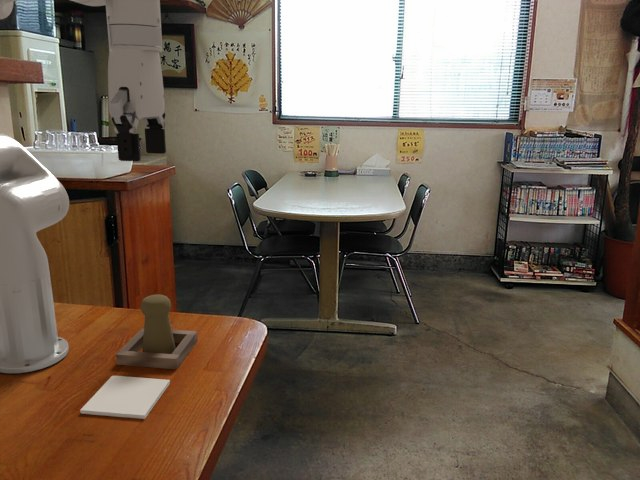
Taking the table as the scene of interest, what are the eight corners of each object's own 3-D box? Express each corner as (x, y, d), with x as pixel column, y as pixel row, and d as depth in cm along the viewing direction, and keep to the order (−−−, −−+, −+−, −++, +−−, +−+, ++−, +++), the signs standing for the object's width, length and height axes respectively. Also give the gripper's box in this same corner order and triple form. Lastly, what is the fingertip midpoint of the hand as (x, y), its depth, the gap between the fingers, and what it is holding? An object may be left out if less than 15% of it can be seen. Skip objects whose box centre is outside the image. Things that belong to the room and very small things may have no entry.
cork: (166, 361, 94) (162, 305, 91) (135, 358, 96) (131, 301, 93) (181, 346, 100) (178, 292, 97) (152, 343, 101) (148, 289, 98)
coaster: (80, 413, 79) (80, 410, 79) (112, 378, 89) (112, 375, 89) (144, 418, 78) (144, 415, 78) (170, 383, 88) (170, 379, 88)
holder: (116, 364, 93) (115, 354, 93) (143, 336, 104) (142, 327, 103) (177, 369, 92) (176, 358, 92) (197, 340, 103) (197, 331, 102)
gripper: (136, 45, 87) (143, 150, 91) (80, 34, 70) (92, 163, 75) (181, 45, 86) (186, 151, 91) (134, 35, 70) (143, 165, 74)
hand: (143, 156), depth 83 cm, fingers open, 9 cm apart
